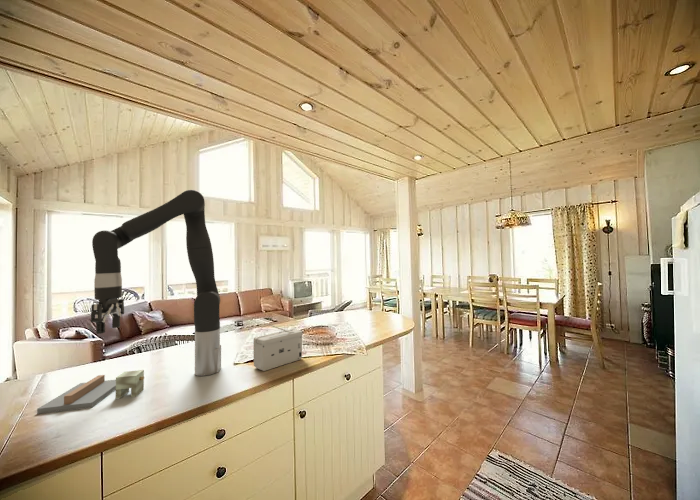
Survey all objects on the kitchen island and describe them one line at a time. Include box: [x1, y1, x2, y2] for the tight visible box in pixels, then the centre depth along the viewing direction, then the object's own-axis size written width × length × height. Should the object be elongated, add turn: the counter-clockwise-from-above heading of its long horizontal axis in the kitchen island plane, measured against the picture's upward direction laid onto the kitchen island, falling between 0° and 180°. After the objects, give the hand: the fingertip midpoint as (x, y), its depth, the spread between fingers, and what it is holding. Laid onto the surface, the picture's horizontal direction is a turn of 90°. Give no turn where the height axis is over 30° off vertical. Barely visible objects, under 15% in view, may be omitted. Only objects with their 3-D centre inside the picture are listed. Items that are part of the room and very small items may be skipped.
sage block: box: [115, 369, 145, 400], centre depth 95 cm, size 7×5×7 cm
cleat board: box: [36, 374, 116, 415], centre depth 93 cm, size 14×18×4 cm
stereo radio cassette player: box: [253, 322, 303, 372], centre depth 121 cm, size 21×8×20 cm, turn 135°
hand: (108, 330), depth 99 cm, fingers open, 8 cm apart
